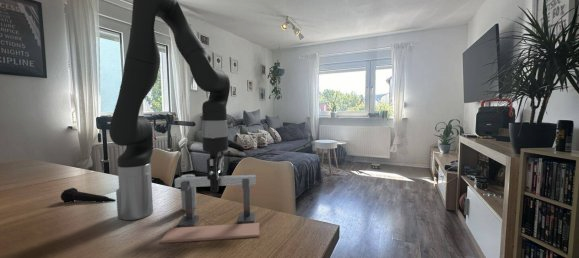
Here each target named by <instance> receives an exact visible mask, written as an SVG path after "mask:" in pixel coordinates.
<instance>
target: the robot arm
mask: <svg viewBox="0 0 579 258" xmlns="http://www.w3.org/2000/svg"><path fill="white" fill-rule="evenodd" d="M131 14H132V15H131V25H130V32H129V38H128V44H127V50H126V55H125V59H124V64H123V71H122V77H121V82H120V87H119V92H118V97H117V99H116V103H115V106H114V109H113V113H112V116H111V120H110V124H109V127H108V128H109V129H108V131H109V132H108V133H109V136H110V137H109V138H110V139H111V141H112V143H114V144H115V145H117V146H121V147H122V146H124V147H125V146H126V148H125V150H124V152H122V153H121V155H119V156H118V157H117V159H116V160H117V162H116V163H117V175H118V176H117V178H118V189H116V190H115V192H116V209H117V210H116V211H117V219H118V220H119V219H122V220H124V221H133V220H140V219H143V218H146V217H148V216H150V215H152V214H153V212H154V201H153V187H152V186H153V185H152V184H153V183H152V168H151V167H152V165H151V159H152V156H153V152H154V148H153V147H154V146H153V144H154V132H153V131H154V130H153V127H152V123H151V121H150V120H149V119H148V118H146V117H145V116H141V115H139V114H140V110H141V106H142V104H143V102H144V100H145V98H146V97H147V96H148V94H149V93H150V91H151V90H152V89H153V87H154V85H155V84H156V82H157V80H158V75H159V70H160V66H161V55H160V51H159V47H158V42H157V40H156V35H155V21H156V17H158V18H160V19H161V20H162V21H163V22H165V24H166V25H167V26H168V27H169V29H170V30H171V31H172V33H173V37H174V42H175V45H176V46H175V47H177V50H178V51H179V53H180V54H181V56H182V57H183V59H184V61H185V62H186V64H188V66H189V71H190V73H191V75H192V78H193V80H194V82H195V84H196V85H197V87H198V88H199V89H201V90H202V91H204V92H207V93H209V95H208V99H207V100H206V101H204V102H203V103H202V105H201V106H202V109H201V110H202V111H201V113H202V114H201V116H202V125H201V133H202V134H201V136H202V137H201V139H202V141H201V142H202V143H201V144H202V151H203V152H204V153H209V157H208V158H207V159H206V169H207V171H206V172H207V174H206V175H207V176H208V177H207V176H206V177H207V178H208V180H210V186H209V192H210V193H218V192H219V186H218V178H219V177H218V176H223V172H224V168H225V165H224V152H226V151H228V150H229V132H228V131H229V129H228V127H229V125H228V120H227V119H228V118H227V117H228V116H227V104H228V101H229V95H230V89H231V82H230V78H229V76H228V74H227V73H226V71H223V70H220V69H217V68H214V66H213V65H212V64H211V60H212V58H211V55H210V53H209V51H208V50H207V49H206V47H205V46H204V44H203V42H202V41H201V40H200V39H199V37H198V36H197V34H196V33H195V31H194V29H193V28H192V26H191V24H190V23H189V21H188V19H187V17H186V15H185V13H184V10H183V8H182V6H181V5H180V3H179V0H132V12H131ZM213 173H214V174H213Z"/></svg>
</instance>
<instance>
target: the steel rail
mask: <svg viewBox="0 0 579 258" xmlns="http://www.w3.org/2000/svg"><path fill="white" fill-rule="evenodd" d="M207 177H208V176H195V177H181V176H180V177H177V178H175V179H174V188H181V184H180V183H181V182H188V187H196V188H198V187H199V188H200V187H210V180H208V178H207ZM218 177H219V178H218V187H223V186H225V187H226V186H242V180H249V185H250V186H251V185H256V183H257V181H256V174H250V175H244V174H240V175H239V174H238V175H237V174H235V175H222V176H218Z"/></svg>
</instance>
